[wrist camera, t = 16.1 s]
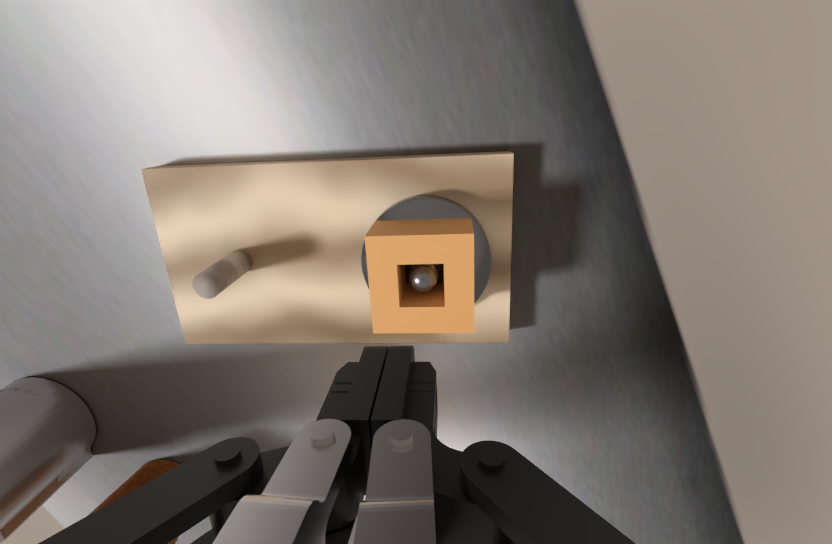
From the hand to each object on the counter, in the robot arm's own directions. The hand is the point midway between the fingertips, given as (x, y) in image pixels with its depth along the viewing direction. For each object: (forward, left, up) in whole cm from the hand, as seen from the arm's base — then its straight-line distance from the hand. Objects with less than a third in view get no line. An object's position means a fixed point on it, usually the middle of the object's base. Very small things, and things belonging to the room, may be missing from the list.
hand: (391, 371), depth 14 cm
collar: (-2, 0, -17) cm, 17 cm away
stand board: (-2, +7, -21) cm, 22 cm away
